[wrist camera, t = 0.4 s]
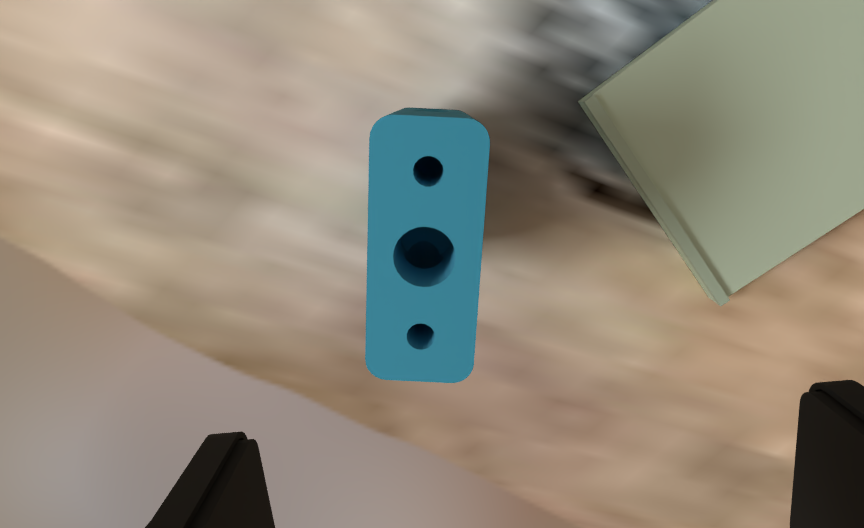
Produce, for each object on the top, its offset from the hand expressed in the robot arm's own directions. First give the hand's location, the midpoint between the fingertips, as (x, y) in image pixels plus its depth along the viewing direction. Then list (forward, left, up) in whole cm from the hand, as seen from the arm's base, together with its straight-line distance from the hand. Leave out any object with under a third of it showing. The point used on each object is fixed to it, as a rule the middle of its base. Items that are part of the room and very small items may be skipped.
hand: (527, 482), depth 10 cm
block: (-1, -2, -37) cm, 37 cm away
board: (+10, +21, -36) cm, 43 cm away
